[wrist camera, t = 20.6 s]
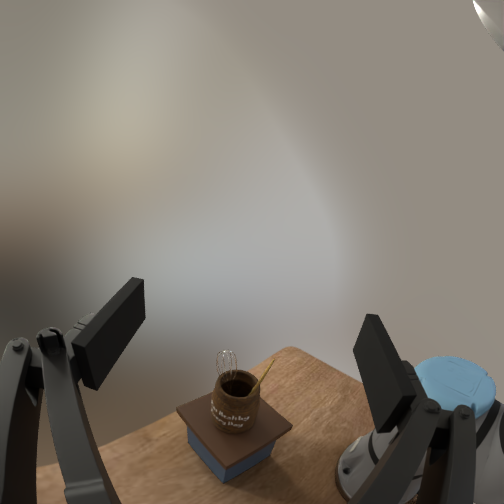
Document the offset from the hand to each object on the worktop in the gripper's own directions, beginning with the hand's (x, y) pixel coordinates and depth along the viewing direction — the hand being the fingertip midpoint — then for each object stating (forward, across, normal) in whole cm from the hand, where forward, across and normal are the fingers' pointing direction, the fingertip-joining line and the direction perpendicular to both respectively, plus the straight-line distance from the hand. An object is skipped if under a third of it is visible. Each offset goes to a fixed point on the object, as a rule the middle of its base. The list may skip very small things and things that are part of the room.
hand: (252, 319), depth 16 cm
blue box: (+10, 0, -32) cm, 33 cm away
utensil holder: (+10, 0, -23) cm, 25 cm away
